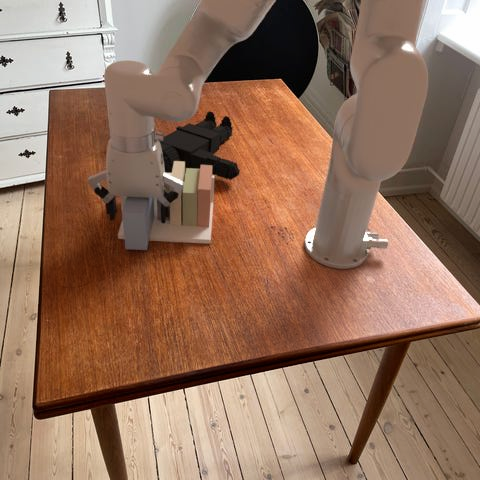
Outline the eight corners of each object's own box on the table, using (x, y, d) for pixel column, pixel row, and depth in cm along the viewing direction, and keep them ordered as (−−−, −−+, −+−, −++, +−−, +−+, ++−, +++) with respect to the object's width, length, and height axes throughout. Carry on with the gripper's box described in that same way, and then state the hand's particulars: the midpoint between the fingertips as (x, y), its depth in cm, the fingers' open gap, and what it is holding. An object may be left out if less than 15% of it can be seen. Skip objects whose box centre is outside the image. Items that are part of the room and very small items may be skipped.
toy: (275, 131, 125) (217, 174, 103) (271, 158, 130) (214, 206, 107) (167, 98, 136) (92, 131, 113) (166, 124, 140) (94, 161, 118)
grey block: (154, 215, 102) (152, 180, 97) (146, 250, 93) (144, 213, 88) (134, 214, 102) (131, 179, 96) (125, 249, 93) (121, 212, 88)
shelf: (213, 202, 109) (215, 160, 102) (210, 243, 98) (212, 199, 91) (130, 198, 108) (126, 155, 101) (118, 238, 97) (113, 194, 90)
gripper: (185, 130, 88) (185, 208, 99) (86, 124, 87) (97, 204, 98) (182, 151, 82) (182, 232, 93) (76, 145, 81) (88, 227, 92)
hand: (138, 217), depth 96 cm, fingers open, 9 cm apart
